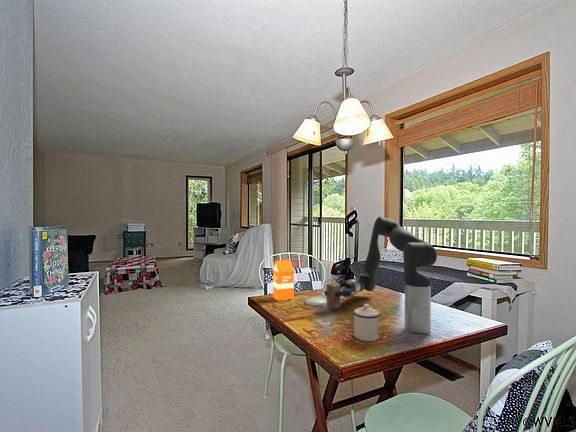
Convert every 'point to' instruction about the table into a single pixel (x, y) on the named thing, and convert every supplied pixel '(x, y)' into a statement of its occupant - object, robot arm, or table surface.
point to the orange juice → (283, 280)
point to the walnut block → (331, 299)
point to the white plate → (316, 301)
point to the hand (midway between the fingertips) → (330, 294)
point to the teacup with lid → (366, 323)
